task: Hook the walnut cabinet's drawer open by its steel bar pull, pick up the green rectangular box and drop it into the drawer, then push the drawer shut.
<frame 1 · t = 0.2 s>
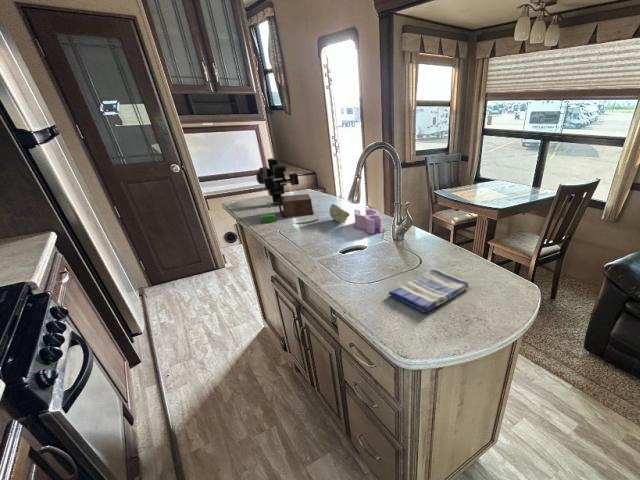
hand: (286, 184, 176), 17 cm above the worktop, tool horizontal, fingers open, 9 cm apart
green rectangular box: (269, 221, 174), on the worktop
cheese: (344, 222, 173), on the worktop
cabinet: (298, 212, 188), on the worktop
drawer: (286, 206, 184), point 4 cm above the worktop, slide at 1.0 cm
clip: (369, 227, 166), on the worktop
dish towel: (429, 292, 110), on the worktop
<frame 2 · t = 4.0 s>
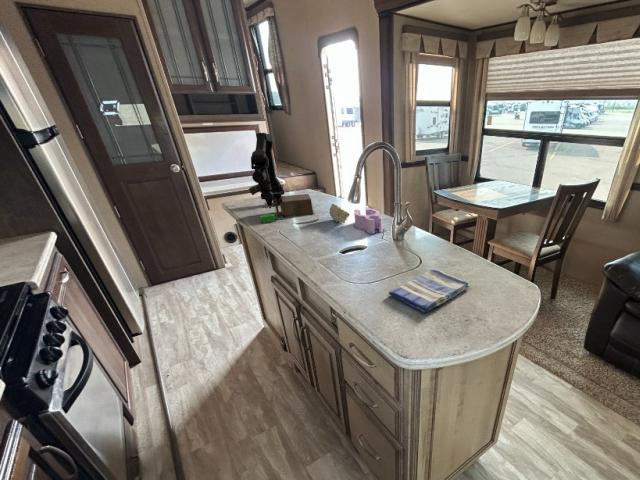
hand: (270, 208, 181), 4 cm above the worktop, tool pointing down, fingers closed
drawer: (283, 206, 183), point 4 cm above the worktop, slide at 2.8 cm
everything else where it was.
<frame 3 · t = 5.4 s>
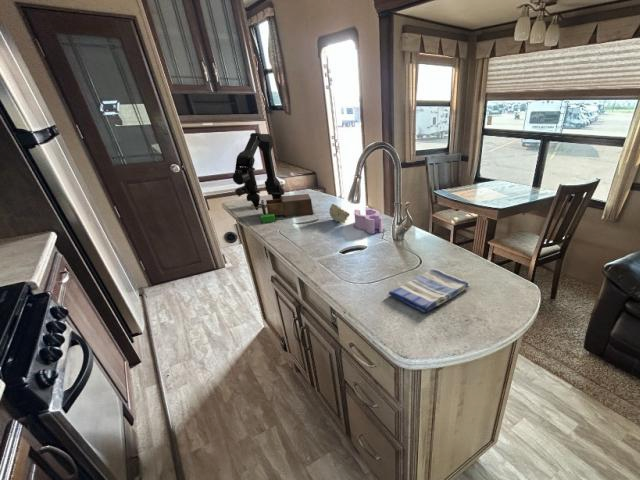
hand: (257, 209, 179), 4 cm above the worktop, tool pointing down, fingers closed, pressing on drawer
drawer: (270, 207, 181), point 4 cm above the worktop, slide at 9.7 cm, touching gripper
everything else where it was.
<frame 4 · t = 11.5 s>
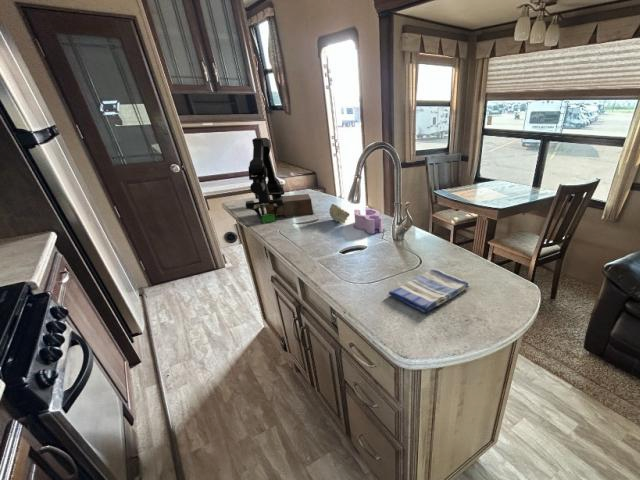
hand: (268, 219, 174), 1 cm above the worktop, tool pointing down, fingers closed on green rectangular box, 6 cm apart
green rectangular box: (269, 221, 174), on the worktop, touching gripper
drawer: (269, 207, 181), point 4 cm above the worktop, slide at 10.5 cm
everything else where it was.
when the fingers open (6 cm above the worktop, at t = 16.1 s): green rectangular box drops 3 cm, resting on drawer.
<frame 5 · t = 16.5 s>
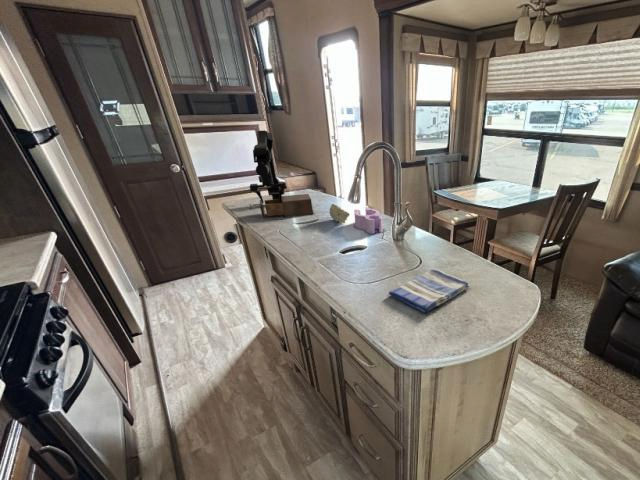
hand: (271, 202, 180), 7 cm above the worktop, tool pointing down, fingers open, 9 cm apart
green rectangular box: (274, 211, 183), point 2 cm above the worktop, touching drawer
drawer: (269, 207, 181), point 4 cm above the worktop, slide at 10.5 cm, touching green rectangular box
everything else where it was.
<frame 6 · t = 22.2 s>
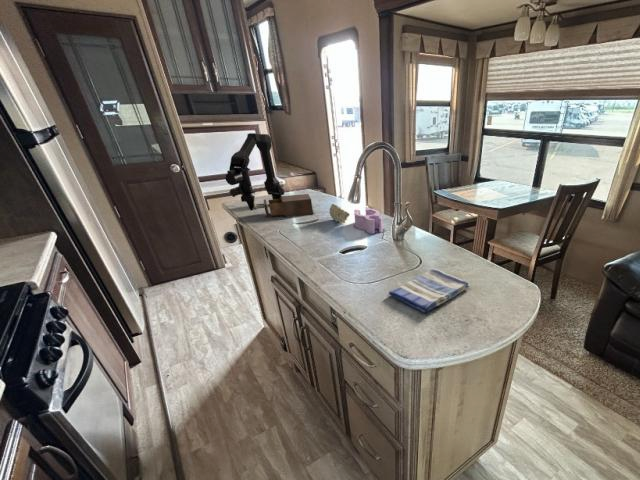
hand: (251, 210, 179), 4 cm above the worktop, tool pointing down, fingers closed, pressing on drawer
green rectangular box: (277, 211, 183), point 2 cm above the worktop, touching drawer
drawer: (273, 207, 182), point 4 cm above the worktop, slide at 8.4 cm, touching gripper, green rectangular box
everything else where it was.
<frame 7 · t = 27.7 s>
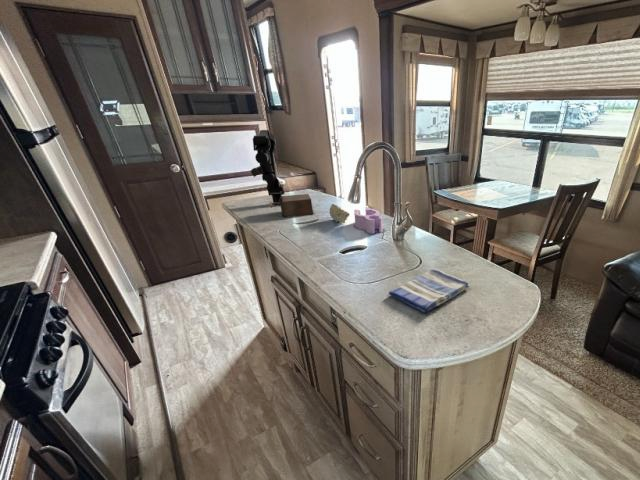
hand: (271, 190, 183), 12 cm above the worktop, tool pointing down, fingers closed
green rectangular box: (293, 209, 186), point 2 cm above the worktop, touching drawer
drawer: (288, 205, 184), point 4 cm above the worktop, slide at 0.0 cm, touching cabinet, green rectangular box
everything else where it was.
at the end: green rectangular box inside the target area in the cabinet (2.6 cm from its centre), point 2.0 cm above the cabinet's base; drawer pulled out 10.5 cm at the most during the clip, back to where it started at the end; drawer slide at 0.0 cm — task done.
